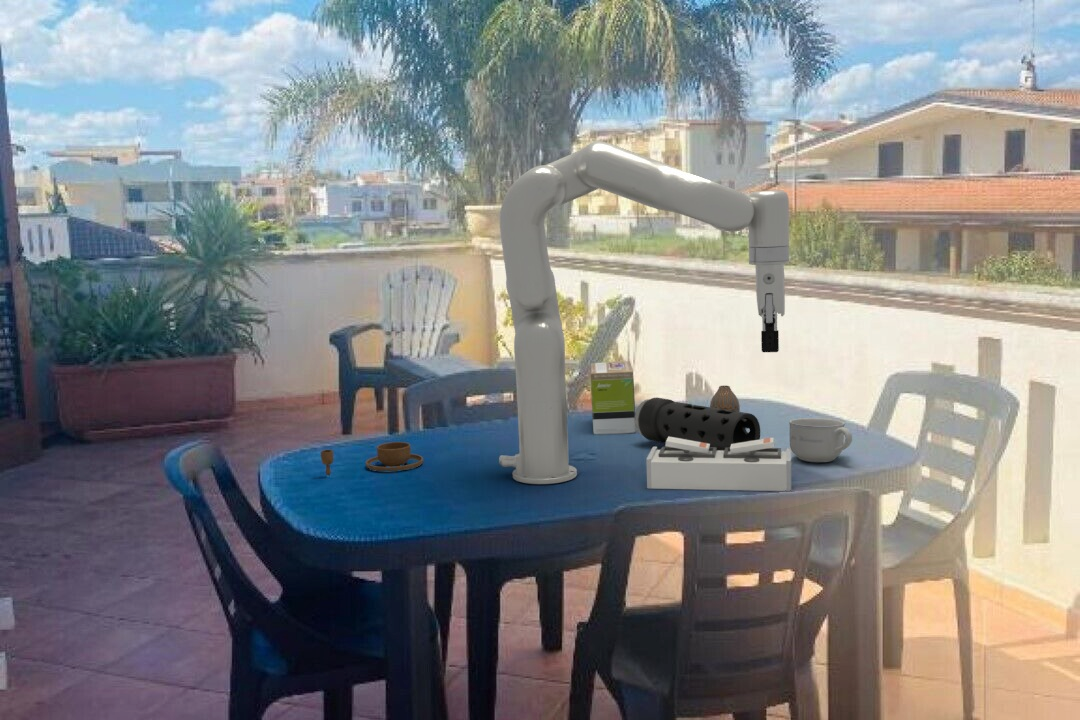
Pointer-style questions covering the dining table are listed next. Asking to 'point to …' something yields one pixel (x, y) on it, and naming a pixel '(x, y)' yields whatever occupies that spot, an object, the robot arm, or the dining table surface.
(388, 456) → the place setting
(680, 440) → the outlet rocker
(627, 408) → the tea box
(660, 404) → the muzzle brake
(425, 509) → the dining table surface
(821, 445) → the teacup
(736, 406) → the vase
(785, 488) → the white switch block
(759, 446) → the outlet rocker
